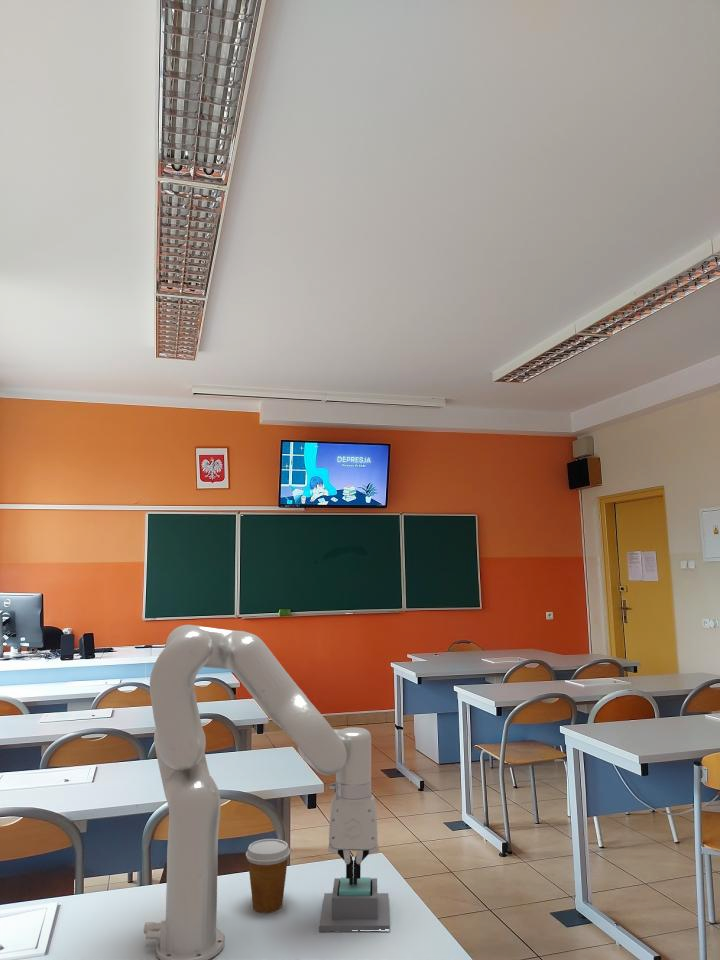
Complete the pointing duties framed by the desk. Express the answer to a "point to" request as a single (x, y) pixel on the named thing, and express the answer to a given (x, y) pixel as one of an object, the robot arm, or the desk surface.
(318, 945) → the desk surface
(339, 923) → the button housing
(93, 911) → the desk surface
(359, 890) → the button cap
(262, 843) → the disposable coffee cup
